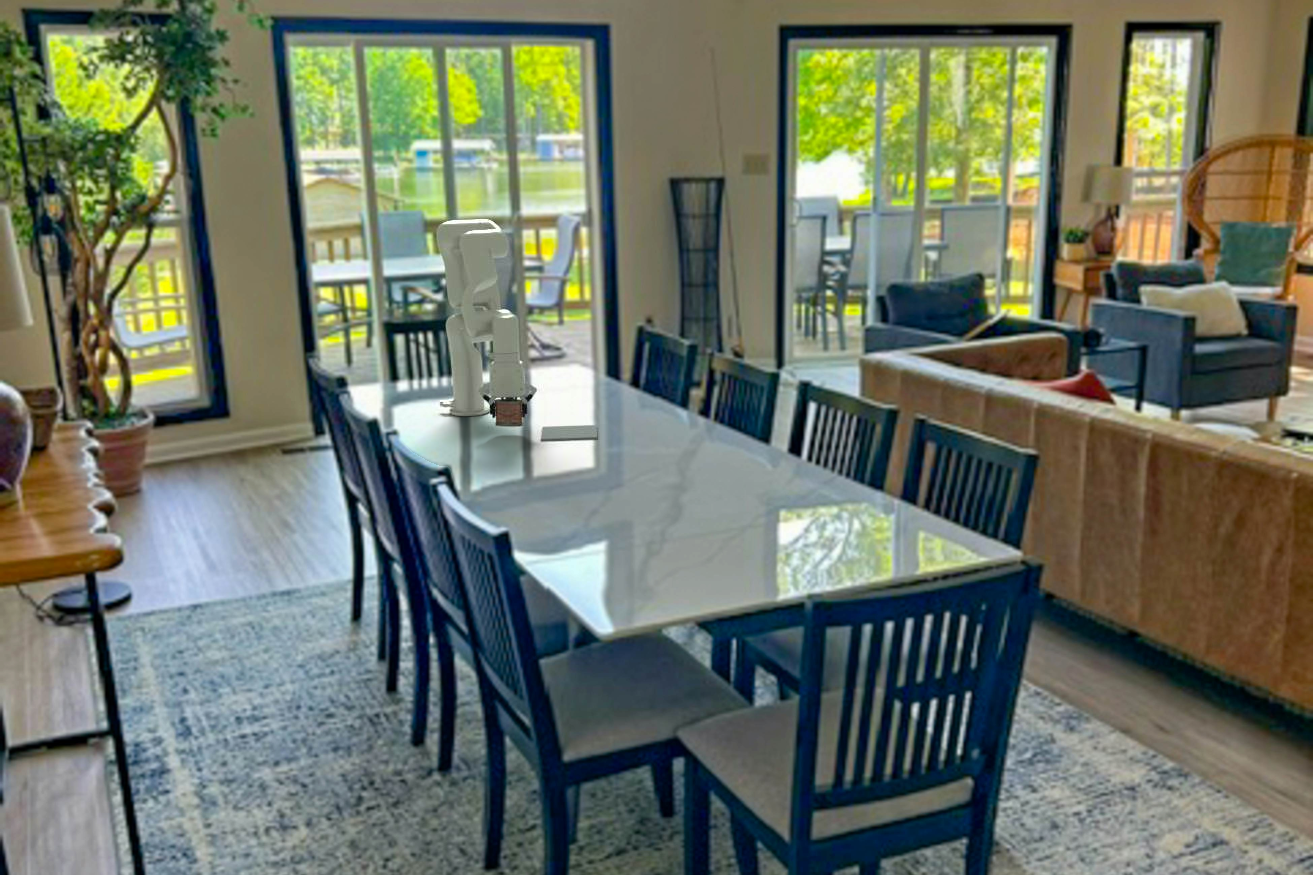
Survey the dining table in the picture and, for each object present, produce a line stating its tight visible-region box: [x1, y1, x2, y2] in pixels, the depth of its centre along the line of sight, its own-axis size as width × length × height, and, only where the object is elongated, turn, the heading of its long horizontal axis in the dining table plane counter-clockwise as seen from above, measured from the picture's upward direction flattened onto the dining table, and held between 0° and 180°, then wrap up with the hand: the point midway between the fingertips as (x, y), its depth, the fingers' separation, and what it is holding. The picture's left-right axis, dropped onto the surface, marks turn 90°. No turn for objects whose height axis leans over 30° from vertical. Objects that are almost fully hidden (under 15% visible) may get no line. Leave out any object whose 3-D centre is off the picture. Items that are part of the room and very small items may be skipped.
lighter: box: [494, 397, 524, 428], centre depth 328 cm, size 8×3×10 cm, turn 84°
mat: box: [540, 424, 598, 442], centre depth 329 cm, size 16×15×1 cm
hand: (508, 416), depth 328 cm, fingers closed on lighter, 8 cm apart
